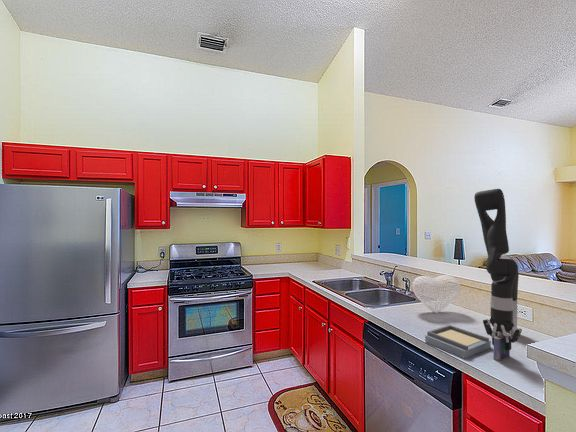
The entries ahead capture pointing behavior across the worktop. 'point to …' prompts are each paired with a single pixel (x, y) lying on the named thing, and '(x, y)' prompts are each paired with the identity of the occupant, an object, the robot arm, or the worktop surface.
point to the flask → (500, 347)
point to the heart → (436, 291)
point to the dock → (457, 341)
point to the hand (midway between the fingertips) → (501, 348)
